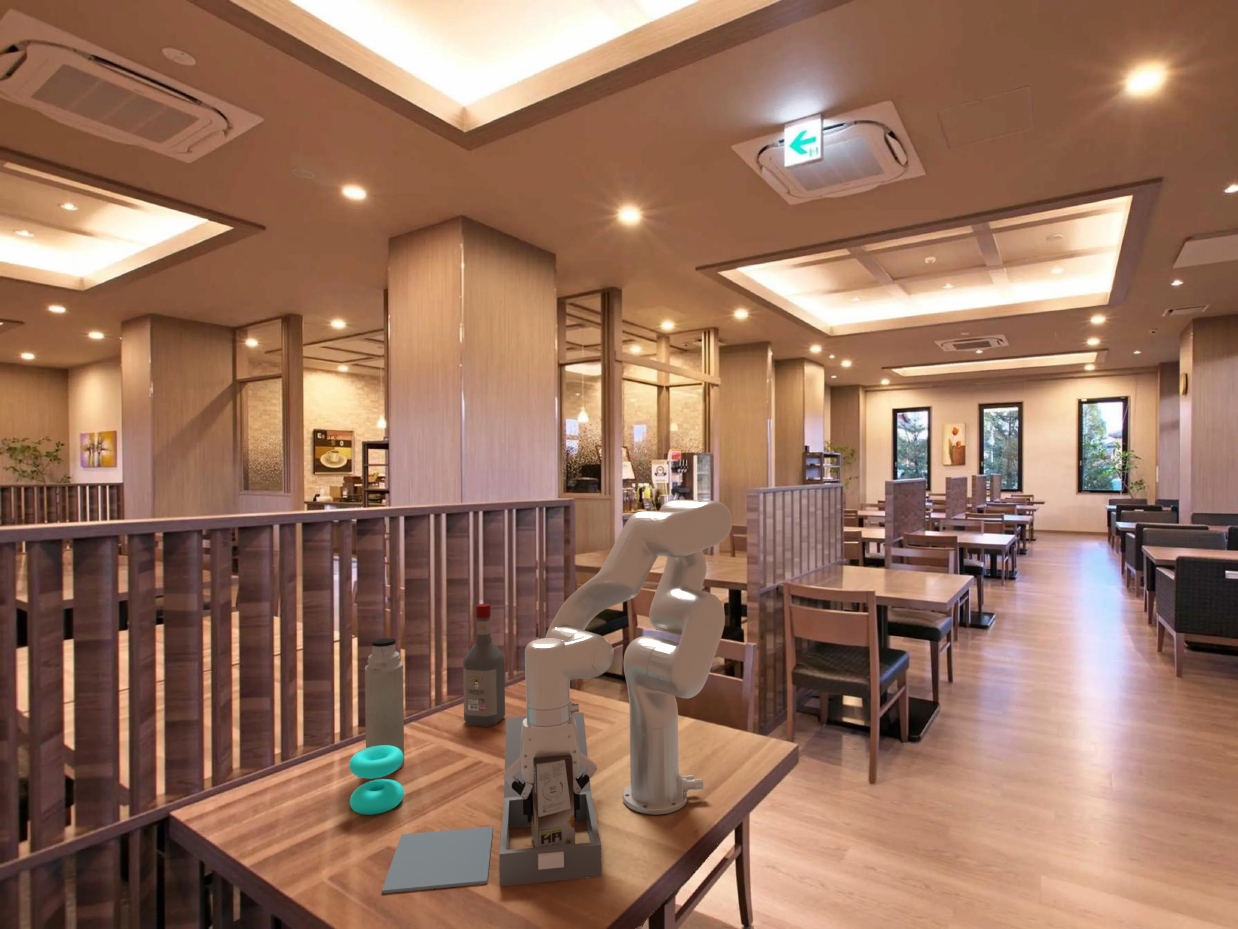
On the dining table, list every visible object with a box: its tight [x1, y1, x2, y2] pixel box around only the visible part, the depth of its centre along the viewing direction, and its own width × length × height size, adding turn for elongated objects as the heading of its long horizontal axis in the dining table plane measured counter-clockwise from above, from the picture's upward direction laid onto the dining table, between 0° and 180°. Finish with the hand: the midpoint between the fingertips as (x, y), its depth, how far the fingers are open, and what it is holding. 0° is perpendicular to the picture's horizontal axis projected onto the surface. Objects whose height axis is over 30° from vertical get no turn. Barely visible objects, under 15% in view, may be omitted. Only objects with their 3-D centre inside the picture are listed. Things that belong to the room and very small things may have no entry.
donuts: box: [348, 745, 405, 816], centre depth 130 cm, size 10×10×10 cm
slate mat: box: [381, 826, 494, 894], centre depth 111 cm, size 16×16×1 cm
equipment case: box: [498, 790, 603, 887], centre depth 113 cm, size 16×19×5 cm
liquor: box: [462, 603, 506, 728], centre depth 173 cm, size 9×9×30 cm
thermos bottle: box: [364, 637, 405, 771], centre depth 147 cm, size 8×8×28 cm
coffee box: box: [530, 755, 576, 847], centre depth 114 cm, size 9×6×16 cm
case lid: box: [503, 712, 592, 799], centre depth 131 cm, size 16×18×1 cm
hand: (551, 815), depth 114 cm, fingers closed on coffee box, 7 cm apart
